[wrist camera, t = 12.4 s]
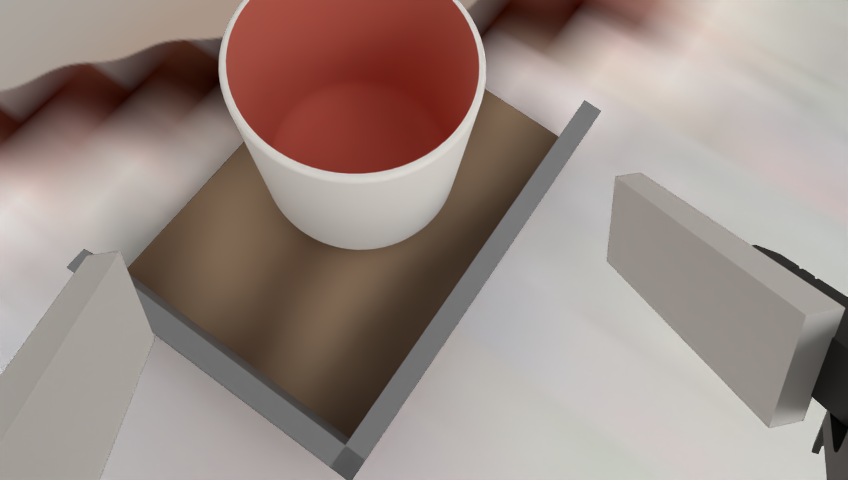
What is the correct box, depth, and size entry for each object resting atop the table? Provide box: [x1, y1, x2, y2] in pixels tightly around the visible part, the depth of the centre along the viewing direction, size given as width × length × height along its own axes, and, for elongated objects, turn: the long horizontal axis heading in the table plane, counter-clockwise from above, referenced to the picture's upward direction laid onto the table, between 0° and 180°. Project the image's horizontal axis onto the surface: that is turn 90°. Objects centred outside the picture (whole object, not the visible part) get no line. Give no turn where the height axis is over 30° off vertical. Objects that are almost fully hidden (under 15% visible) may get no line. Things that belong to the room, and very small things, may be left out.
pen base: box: [127, 89, 559, 439], centre depth 30 cm, size 15×21×1 cm
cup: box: [219, 0, 486, 250], centre depth 25 cm, size 10×10×10 cm
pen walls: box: [67, 100, 601, 480], centre depth 27 cm, size 15×21×4 cm
